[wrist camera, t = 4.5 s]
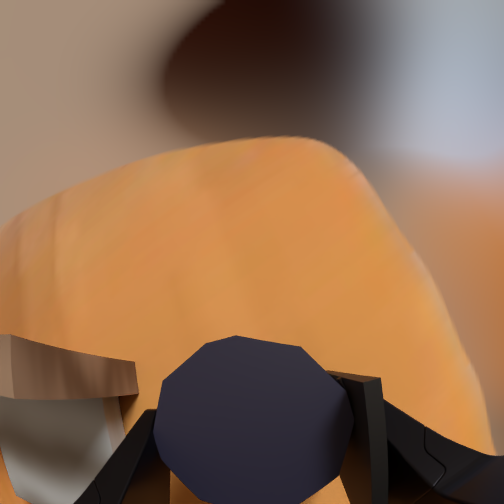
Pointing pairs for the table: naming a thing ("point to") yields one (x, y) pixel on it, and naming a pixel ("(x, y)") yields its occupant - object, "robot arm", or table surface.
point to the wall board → (58, 417)
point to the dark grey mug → (270, 426)
